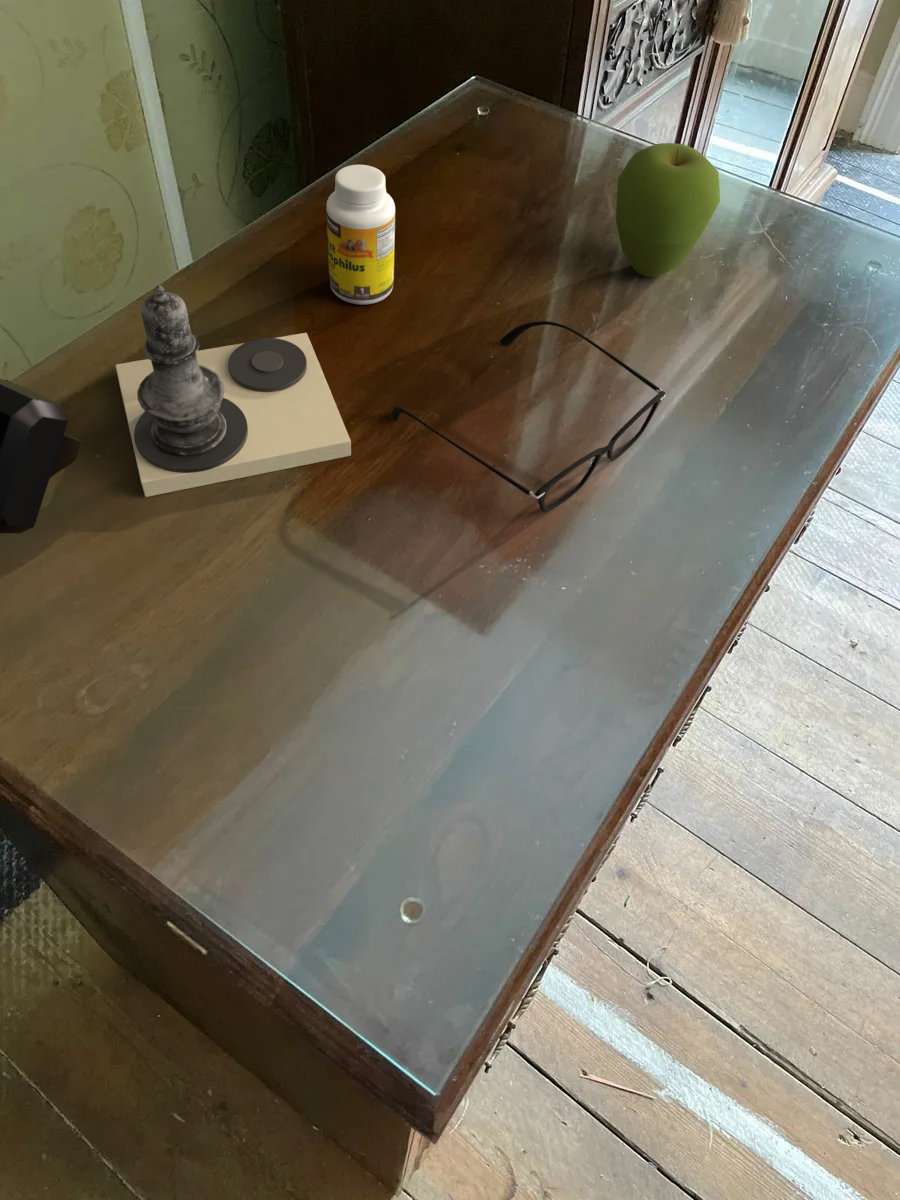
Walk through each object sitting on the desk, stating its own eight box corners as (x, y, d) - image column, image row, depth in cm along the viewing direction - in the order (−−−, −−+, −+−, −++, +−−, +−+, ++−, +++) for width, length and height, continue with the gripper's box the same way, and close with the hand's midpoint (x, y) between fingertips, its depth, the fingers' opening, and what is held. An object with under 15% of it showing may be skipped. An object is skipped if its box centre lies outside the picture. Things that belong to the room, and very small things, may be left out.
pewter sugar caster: (134, 450, 67) (94, 306, 57) (163, 396, 70) (129, 251, 61) (216, 464, 67) (189, 320, 57) (241, 408, 70) (219, 264, 60)
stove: (145, 498, 67) (139, 477, 65) (119, 379, 74) (113, 358, 73) (351, 456, 71) (351, 436, 69) (307, 347, 78) (306, 326, 76)
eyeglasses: (532, 538, 67) (539, 499, 64) (373, 426, 73) (373, 385, 70) (665, 426, 75) (678, 386, 71) (513, 332, 81) (518, 292, 77)
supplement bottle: (316, 289, 83) (309, 177, 74) (358, 262, 85) (356, 150, 77) (365, 316, 81) (364, 204, 73) (407, 287, 84) (410, 176, 75)
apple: (586, 277, 86) (610, 153, 77) (622, 234, 91) (649, 111, 81) (675, 311, 84) (711, 186, 75) (708, 264, 88) (746, 142, 79)
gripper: (-43, 244, 33) (199, 334, 48) (-399, 94, 38) (-77, 220, 53) (-129, 538, 35) (129, 538, 50) (-458, 363, 40) (-131, 410, 55)
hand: (10, 418), depth 52 cm, fingers open, 9 cm apart
